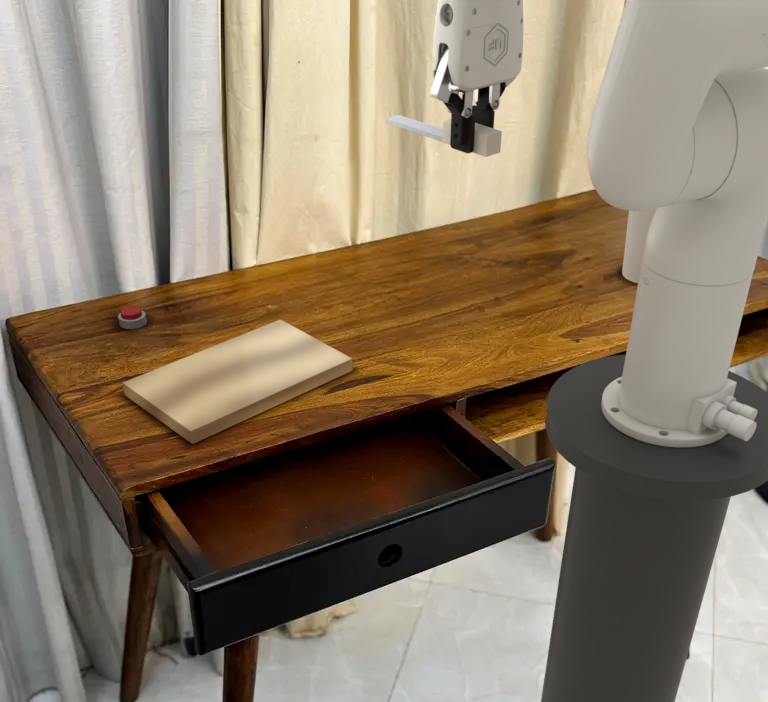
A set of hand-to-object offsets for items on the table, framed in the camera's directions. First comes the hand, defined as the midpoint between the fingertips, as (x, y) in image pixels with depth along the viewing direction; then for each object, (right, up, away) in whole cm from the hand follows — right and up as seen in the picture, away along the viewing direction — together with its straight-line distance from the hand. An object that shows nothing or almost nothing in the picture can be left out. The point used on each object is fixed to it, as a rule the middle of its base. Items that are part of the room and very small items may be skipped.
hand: (471, 145), depth 113 cm
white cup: (+22, -13, +8) cm, 27 cm away
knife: (-3, +2, +3) cm, 5 cm away
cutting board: (-25, -29, -13) cm, 40 cm away
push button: (-38, -21, -2) cm, 44 cm away
